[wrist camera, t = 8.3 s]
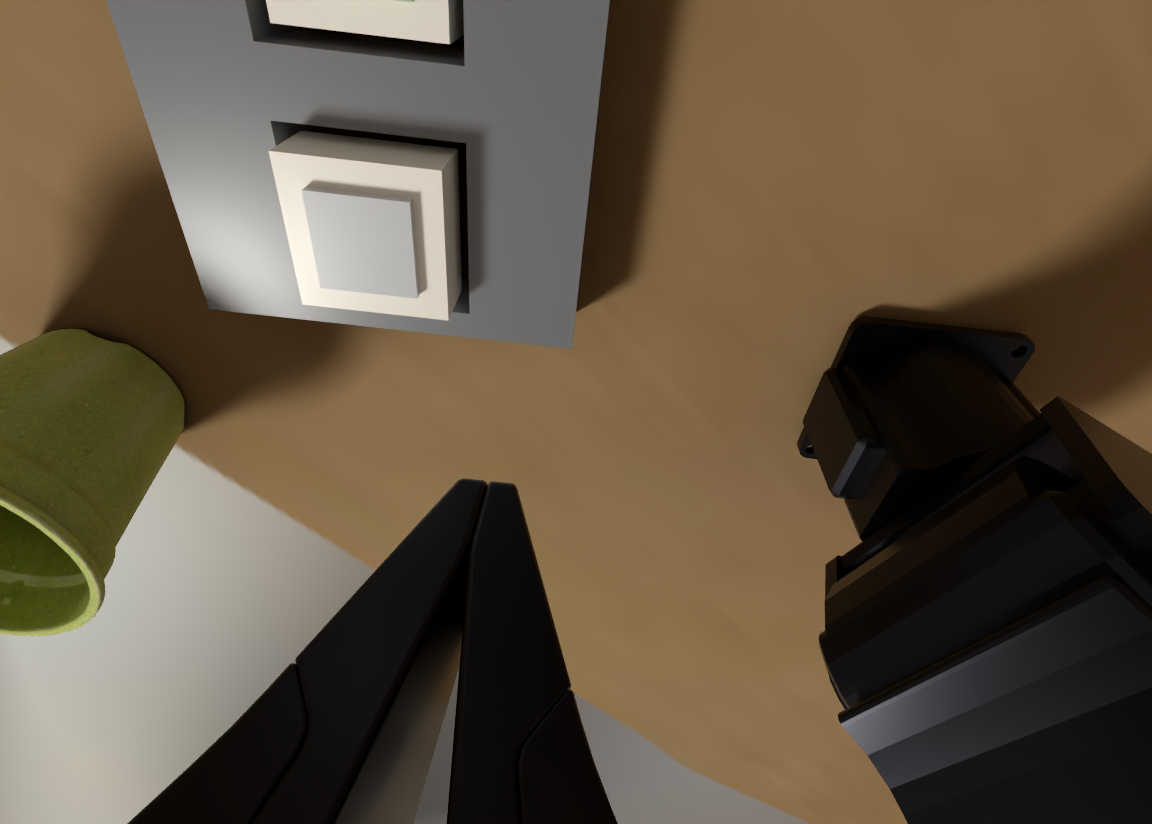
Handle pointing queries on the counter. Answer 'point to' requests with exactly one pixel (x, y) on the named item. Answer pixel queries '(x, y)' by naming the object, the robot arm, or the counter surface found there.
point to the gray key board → (390, 106)
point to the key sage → (375, 17)
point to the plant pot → (74, 470)
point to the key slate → (371, 223)
